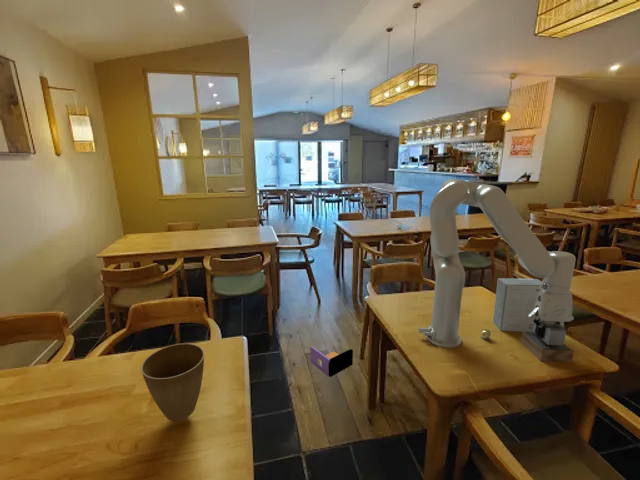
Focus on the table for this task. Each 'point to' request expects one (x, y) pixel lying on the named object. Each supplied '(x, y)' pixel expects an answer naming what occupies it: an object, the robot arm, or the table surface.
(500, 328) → the hard drive box
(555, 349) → the stand
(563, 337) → the housing
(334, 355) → the miniature room corner
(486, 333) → the brass bushing
